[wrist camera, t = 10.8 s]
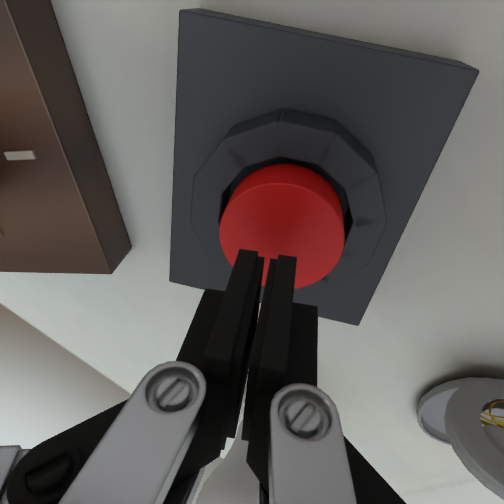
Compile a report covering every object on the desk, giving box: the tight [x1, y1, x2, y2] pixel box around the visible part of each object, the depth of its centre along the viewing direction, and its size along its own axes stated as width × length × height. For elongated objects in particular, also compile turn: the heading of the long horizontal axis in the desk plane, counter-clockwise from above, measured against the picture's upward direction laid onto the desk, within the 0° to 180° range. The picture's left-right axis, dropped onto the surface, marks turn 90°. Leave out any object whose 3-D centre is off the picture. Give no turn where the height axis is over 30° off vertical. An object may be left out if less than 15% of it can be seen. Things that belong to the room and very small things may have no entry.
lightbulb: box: [196, 420, 258, 504], centre depth 22 cm, size 6×6×11 cm
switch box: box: [169, 8, 479, 326], centre depth 16 cm, size 12×10×4 cm
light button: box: [219, 164, 345, 289], centre depth 14 cm, size 4×4×2 cm
